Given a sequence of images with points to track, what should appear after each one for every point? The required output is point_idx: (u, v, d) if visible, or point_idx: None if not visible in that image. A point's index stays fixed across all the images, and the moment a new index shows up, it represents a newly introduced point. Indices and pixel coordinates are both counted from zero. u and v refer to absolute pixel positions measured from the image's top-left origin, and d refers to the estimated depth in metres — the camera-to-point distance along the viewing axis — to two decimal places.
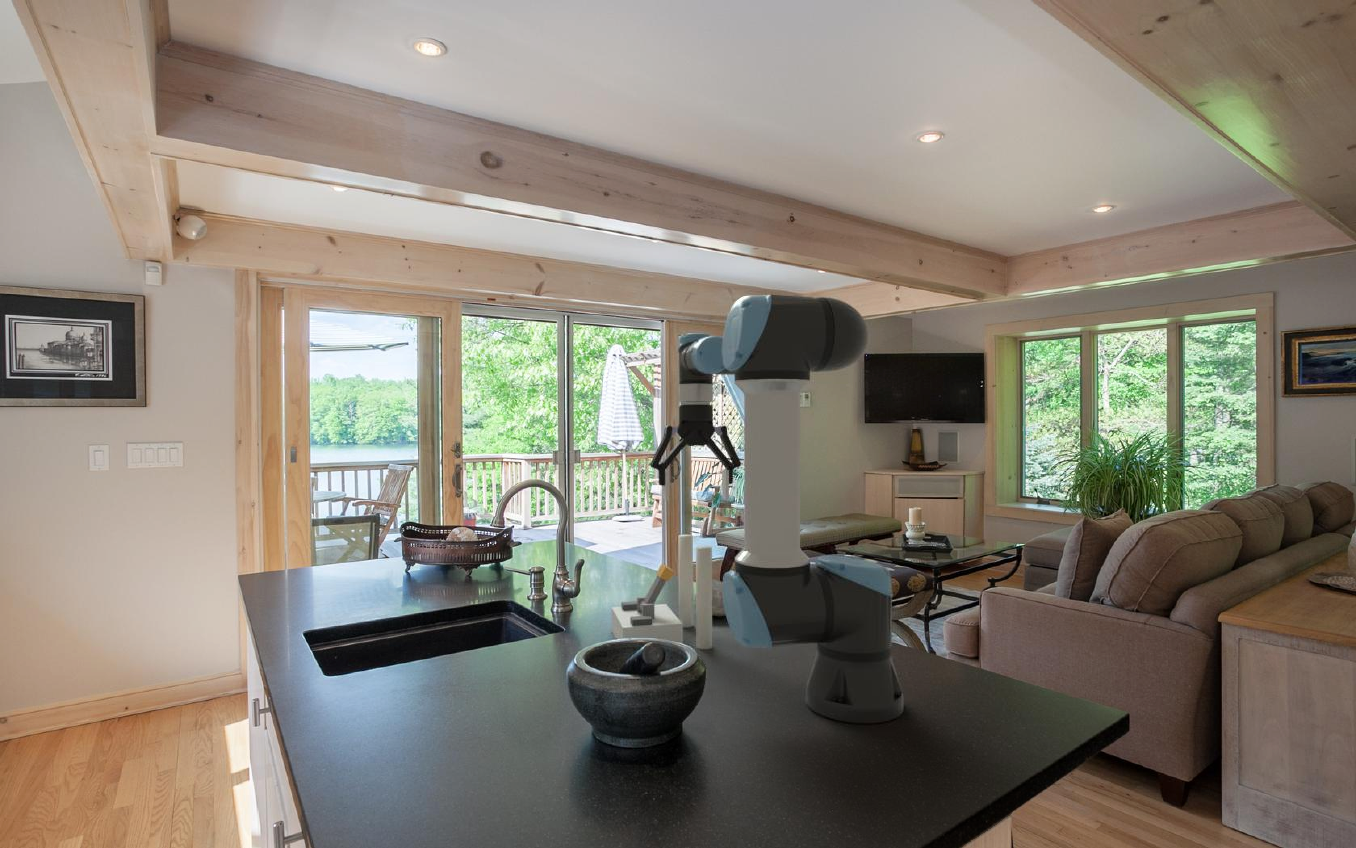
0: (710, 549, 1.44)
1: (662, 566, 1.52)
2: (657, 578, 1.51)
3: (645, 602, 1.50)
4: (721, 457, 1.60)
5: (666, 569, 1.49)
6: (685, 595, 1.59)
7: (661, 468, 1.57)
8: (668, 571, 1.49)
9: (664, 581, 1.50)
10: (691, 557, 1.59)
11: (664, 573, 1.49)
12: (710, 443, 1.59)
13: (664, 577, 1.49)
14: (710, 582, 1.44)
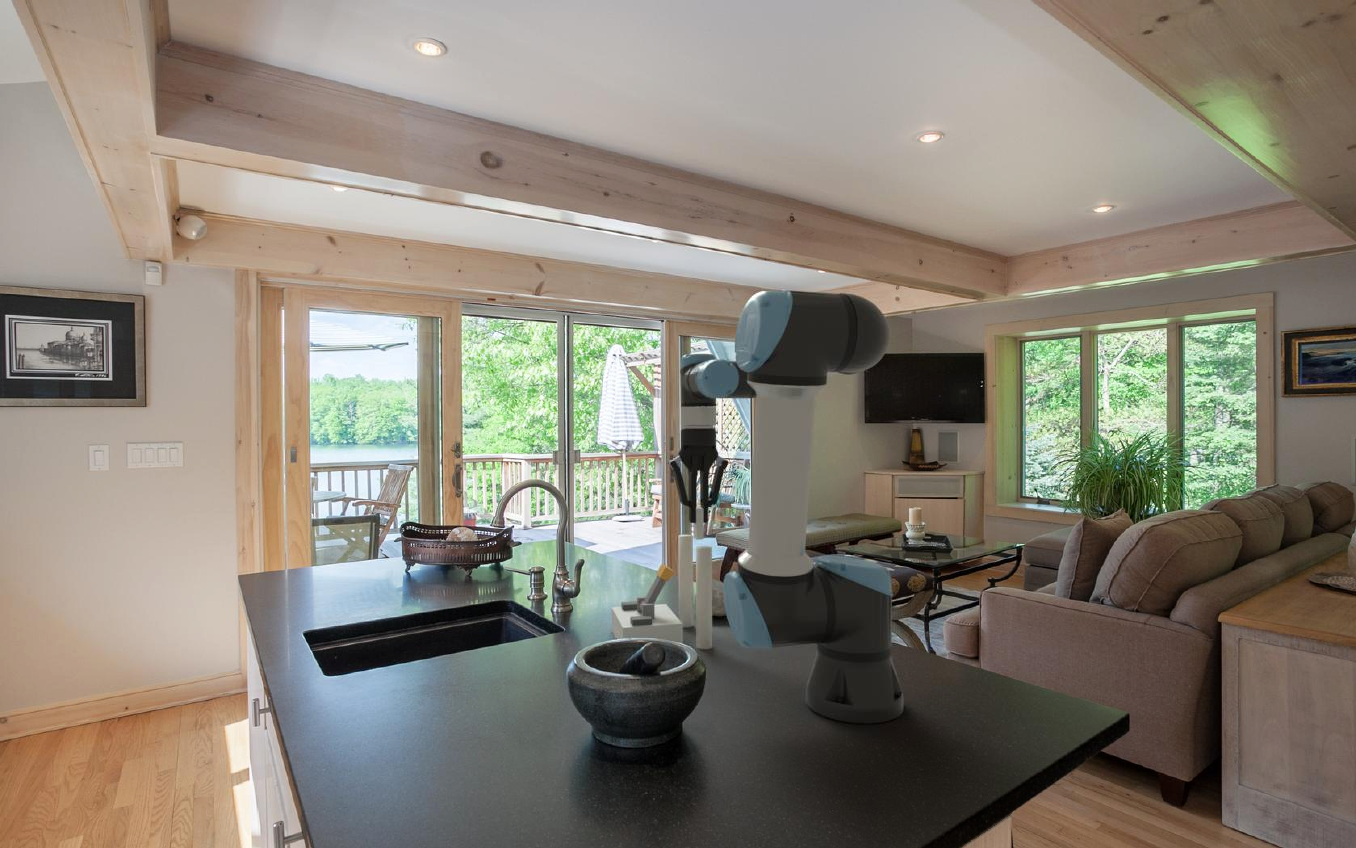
0: (710, 549, 1.44)
1: (662, 566, 1.52)
2: (657, 578, 1.51)
3: (645, 602, 1.50)
4: (704, 490, 1.52)
5: (666, 569, 1.49)
6: (685, 595, 1.59)
7: (692, 506, 1.51)
8: (668, 571, 1.49)
9: (664, 581, 1.50)
10: (691, 557, 1.59)
11: (664, 573, 1.49)
12: (705, 471, 1.51)
13: (664, 577, 1.49)
14: (710, 582, 1.44)
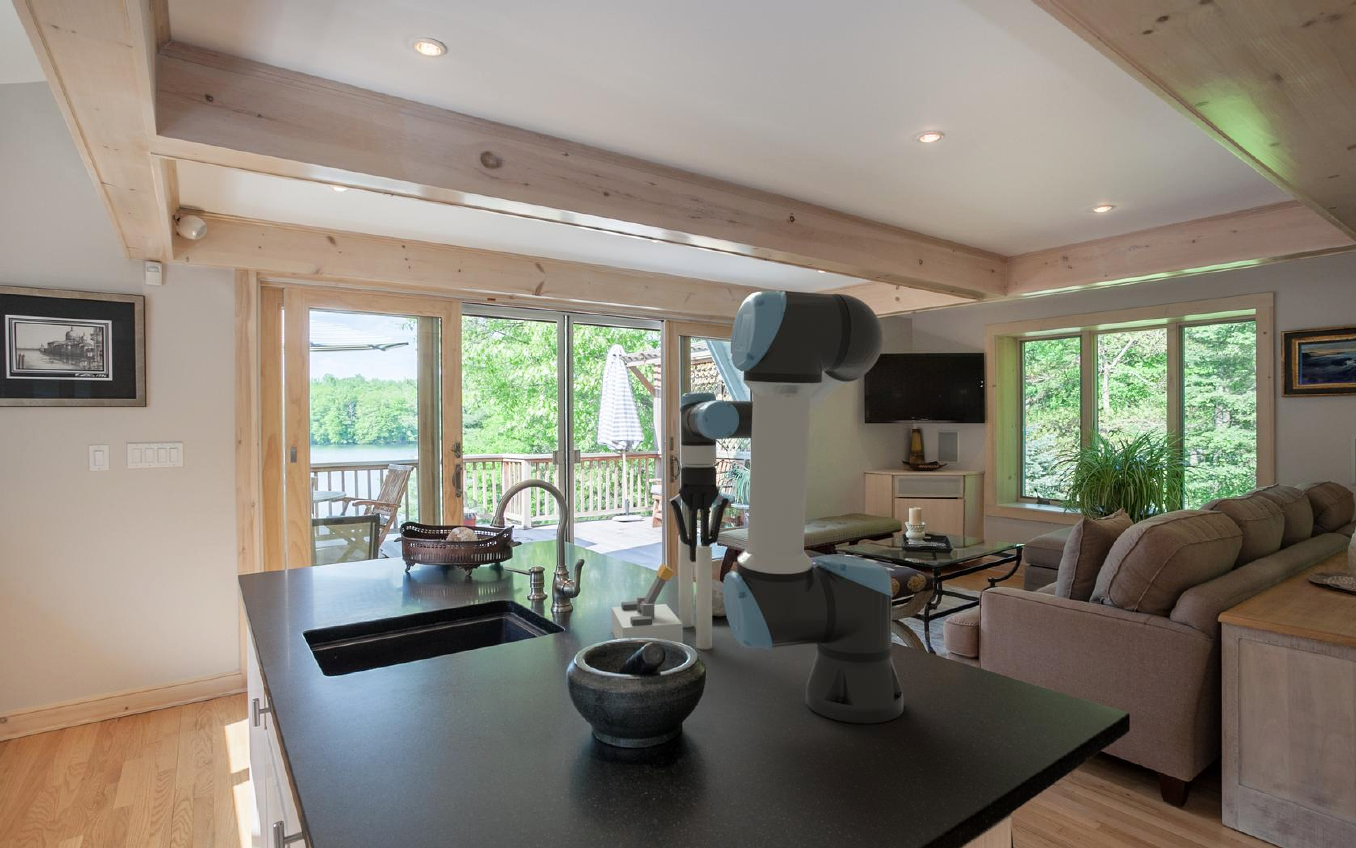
0: (710, 549, 1.44)
1: (662, 566, 1.52)
2: (657, 578, 1.51)
3: (645, 602, 1.50)
4: (704, 529, 1.52)
5: (666, 569, 1.49)
6: (685, 595, 1.59)
7: (693, 545, 1.51)
8: (668, 571, 1.49)
9: (664, 581, 1.50)
10: None
11: (664, 573, 1.49)
12: (705, 509, 1.51)
13: (664, 577, 1.49)
14: (710, 582, 1.44)
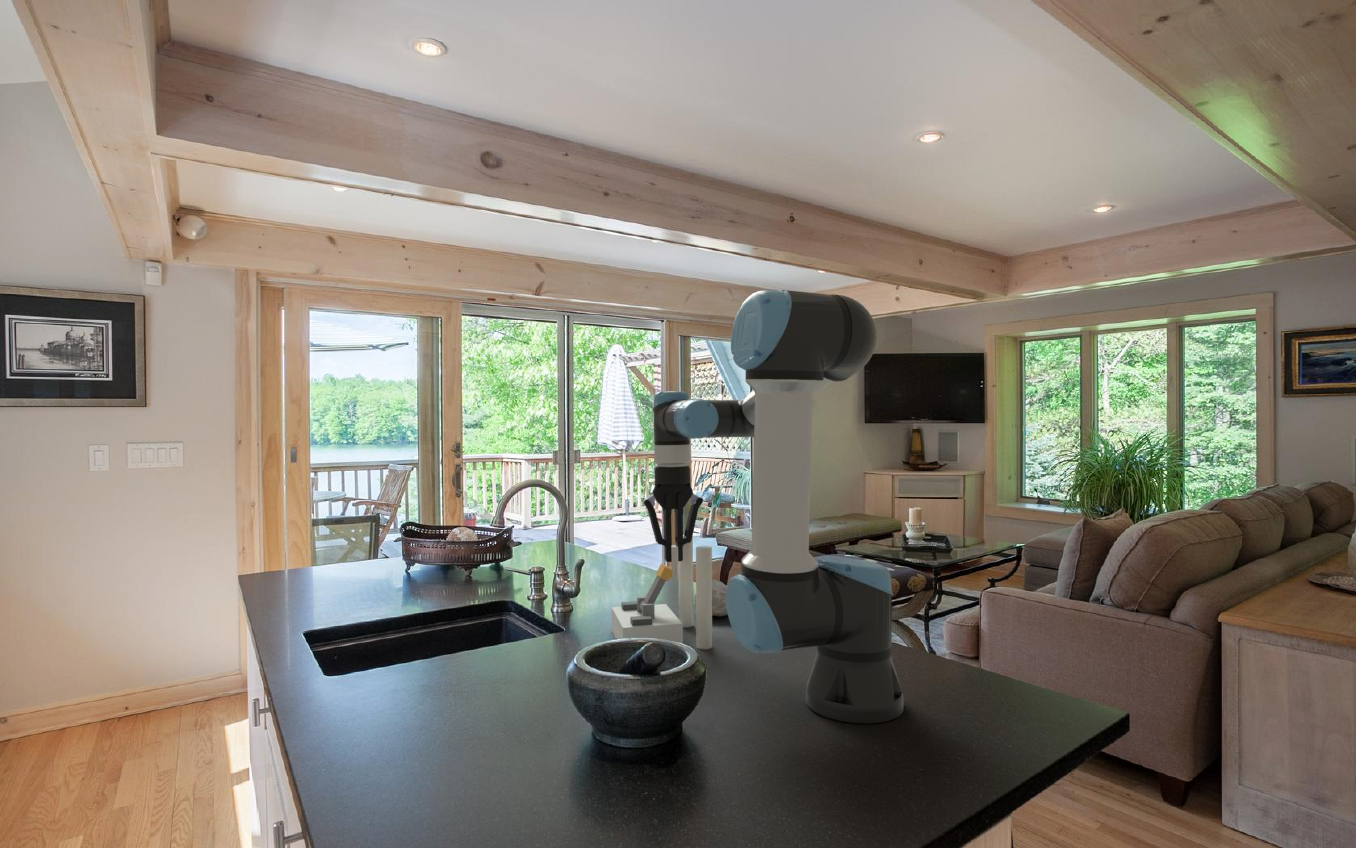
0: (710, 549, 1.44)
1: (661, 566, 1.52)
2: (657, 578, 1.51)
3: (645, 602, 1.50)
4: (678, 529, 1.51)
5: (665, 569, 1.49)
6: (685, 595, 1.59)
7: (667, 545, 1.50)
8: (668, 571, 1.49)
9: (664, 581, 1.50)
10: (691, 557, 1.59)
11: (664, 573, 1.49)
12: (679, 509, 1.50)
13: (664, 577, 1.49)
14: (710, 582, 1.44)
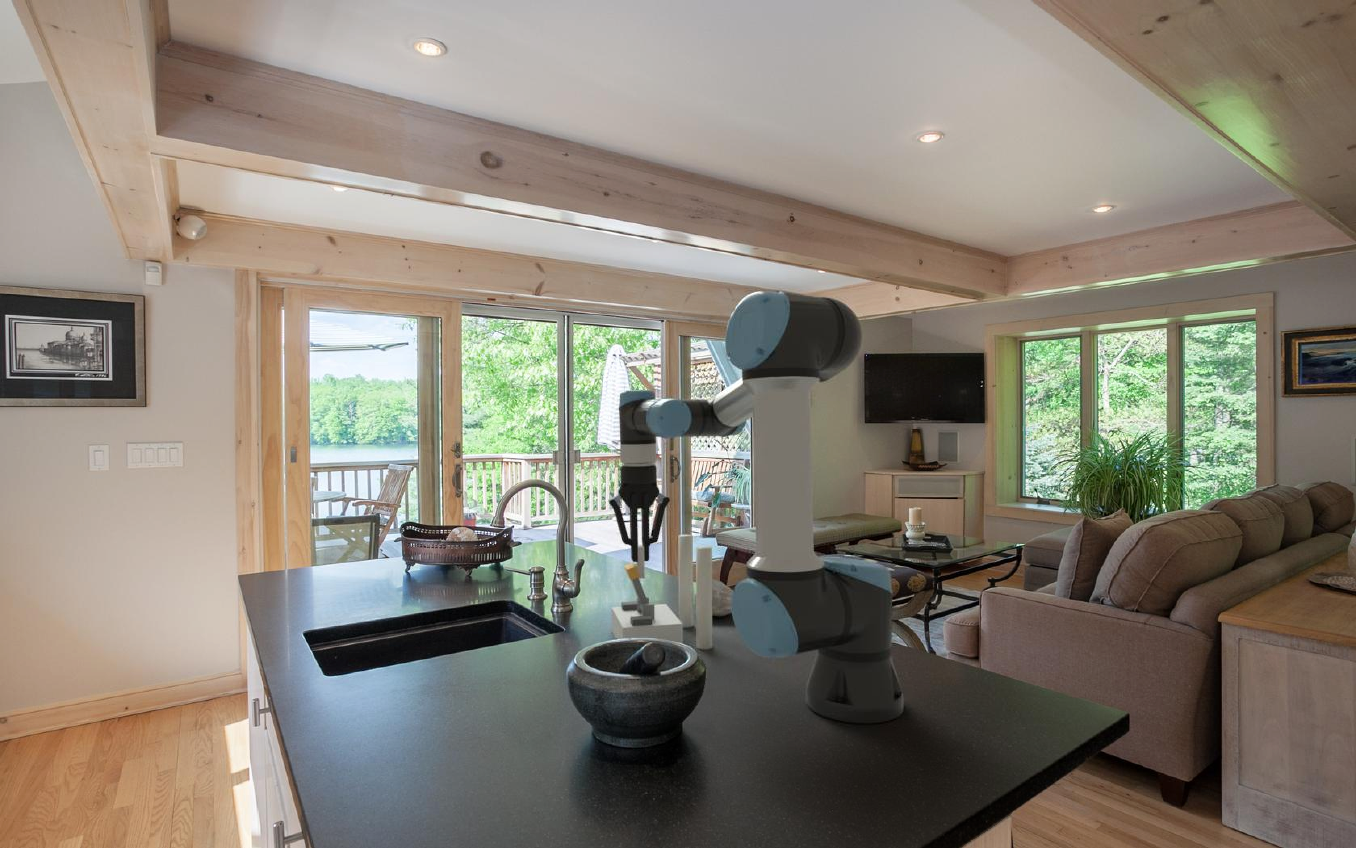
0: (710, 549, 1.44)
1: (625, 569, 1.50)
2: (631, 580, 1.50)
3: (641, 605, 1.50)
4: (645, 528, 1.49)
5: (629, 570, 1.47)
6: (685, 595, 1.59)
7: (634, 545, 1.49)
8: (632, 570, 1.47)
9: (637, 578, 1.48)
10: (691, 557, 1.59)
11: (630, 574, 1.47)
12: (645, 509, 1.49)
13: (634, 577, 1.48)
14: (710, 582, 1.44)
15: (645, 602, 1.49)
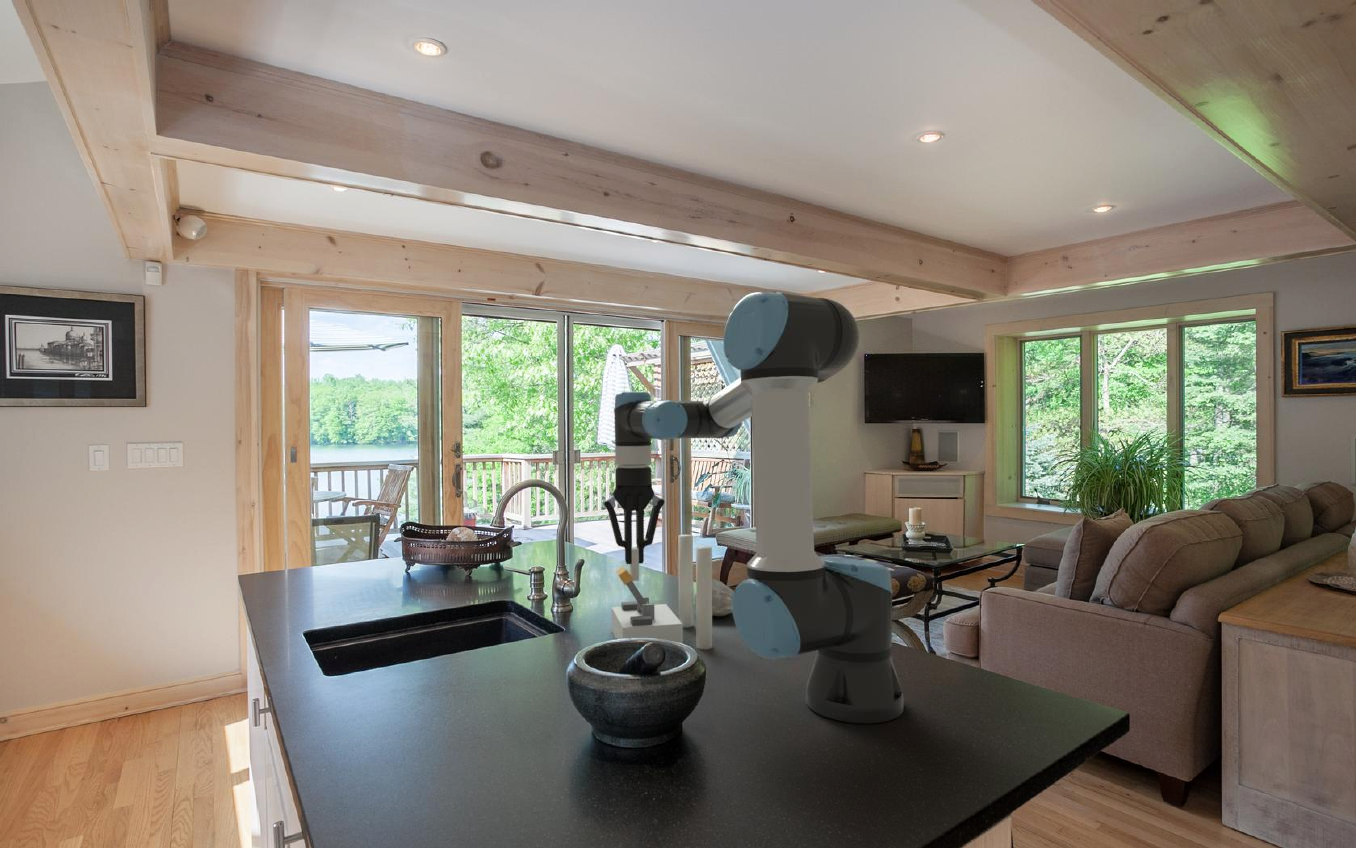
0: (710, 549, 1.44)
1: None
2: None
3: None
4: (639, 530, 1.49)
5: (621, 575, 1.47)
6: (685, 595, 1.59)
7: (628, 547, 1.48)
8: (623, 574, 1.47)
9: (631, 581, 1.48)
10: (691, 557, 1.59)
11: (623, 579, 1.47)
12: (639, 511, 1.48)
13: (627, 581, 1.47)
14: (710, 582, 1.44)
15: (643, 603, 1.49)
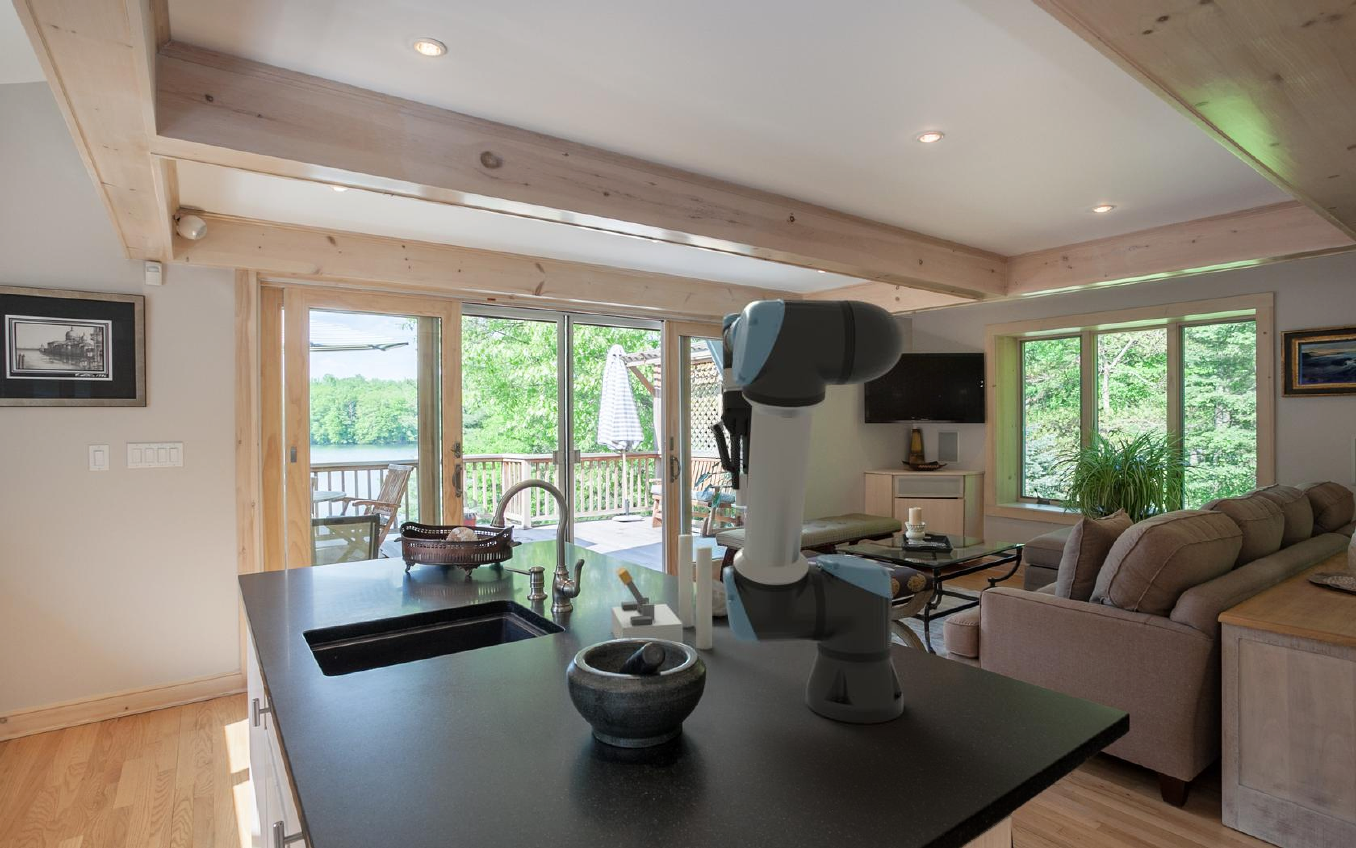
0: (710, 549, 1.44)
1: None
2: None
3: None
4: (748, 455, 1.46)
5: (621, 576, 1.47)
6: (685, 595, 1.59)
7: (736, 472, 1.46)
8: (623, 575, 1.47)
9: (630, 581, 1.48)
10: (691, 557, 1.59)
11: (623, 579, 1.47)
12: (748, 435, 1.46)
13: (627, 581, 1.47)
14: (710, 582, 1.44)
15: (643, 603, 1.49)
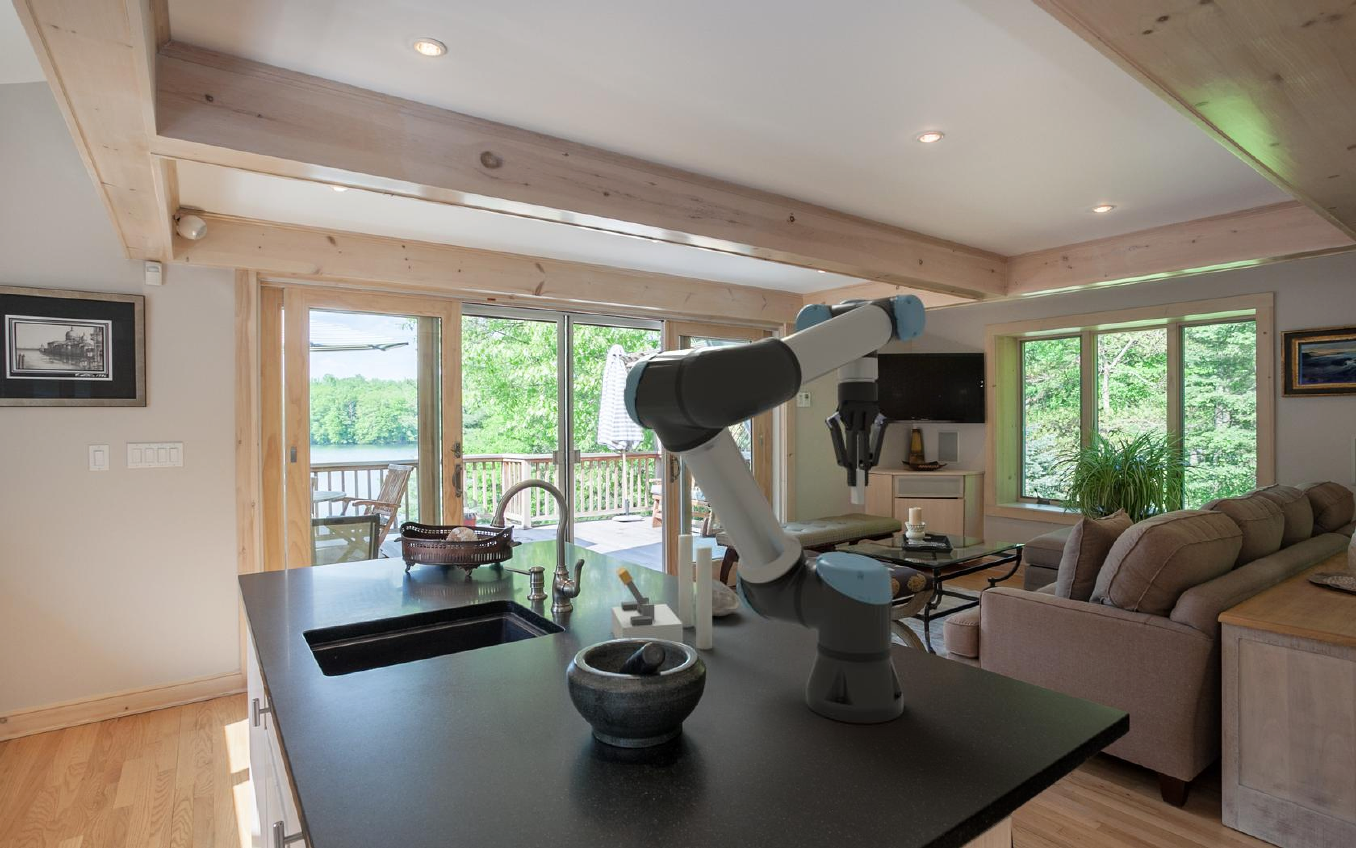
0: (710, 549, 1.44)
1: None
2: None
3: None
4: (865, 450, 1.38)
5: (621, 576, 1.47)
6: (685, 595, 1.59)
7: (853, 468, 1.38)
8: (623, 575, 1.47)
9: (630, 581, 1.48)
10: (691, 557, 1.59)
11: (623, 579, 1.47)
12: (866, 429, 1.38)
13: (627, 581, 1.47)
14: (710, 582, 1.44)
15: (643, 603, 1.49)
